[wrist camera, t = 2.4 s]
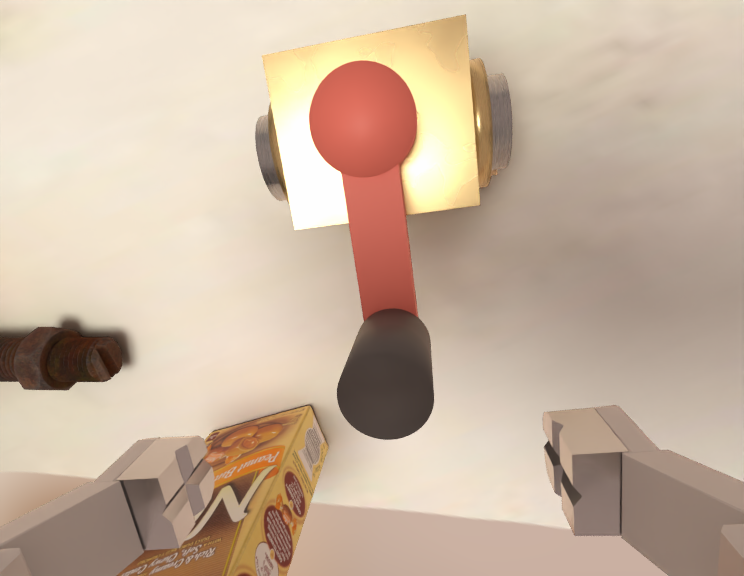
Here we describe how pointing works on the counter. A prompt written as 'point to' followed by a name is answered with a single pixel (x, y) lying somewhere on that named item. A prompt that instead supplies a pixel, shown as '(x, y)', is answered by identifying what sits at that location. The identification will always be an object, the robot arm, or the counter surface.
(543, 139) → the counter surface
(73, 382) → the bolt
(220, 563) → the candy box
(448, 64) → the valve
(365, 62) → the lever
